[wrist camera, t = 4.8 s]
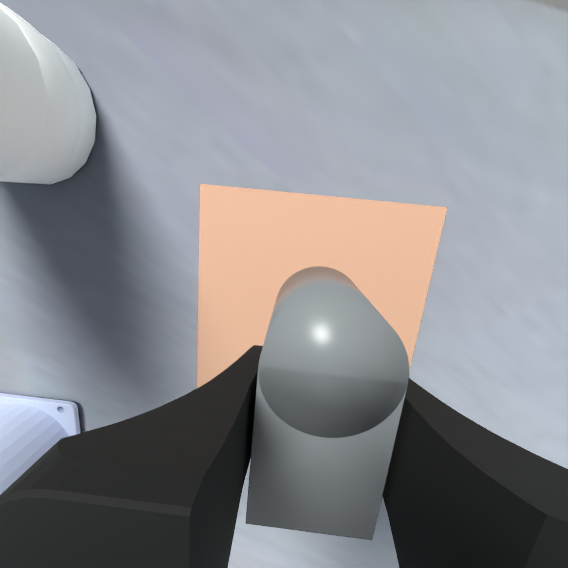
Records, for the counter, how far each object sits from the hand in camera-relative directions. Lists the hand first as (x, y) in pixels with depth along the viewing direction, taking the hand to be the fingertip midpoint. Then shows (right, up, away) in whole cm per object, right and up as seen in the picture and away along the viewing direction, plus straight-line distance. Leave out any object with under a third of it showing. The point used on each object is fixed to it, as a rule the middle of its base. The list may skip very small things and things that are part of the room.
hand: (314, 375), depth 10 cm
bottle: (-16, +13, +6) cm, 21 cm away
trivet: (0, +2, +7) cm, 8 cm away
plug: (0, 0, +2) cm, 2 cm away
